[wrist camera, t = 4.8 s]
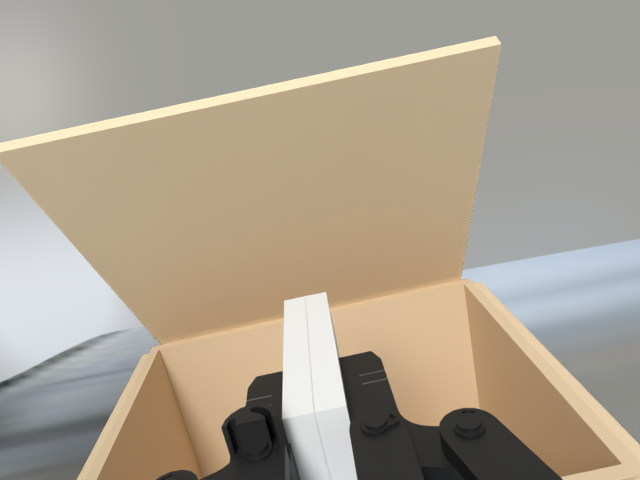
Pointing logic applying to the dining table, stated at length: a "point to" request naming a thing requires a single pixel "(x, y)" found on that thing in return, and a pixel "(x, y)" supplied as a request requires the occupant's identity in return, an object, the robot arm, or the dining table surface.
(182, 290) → the carton flap
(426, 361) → the carton
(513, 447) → the robot arm
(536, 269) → the dining table surface
